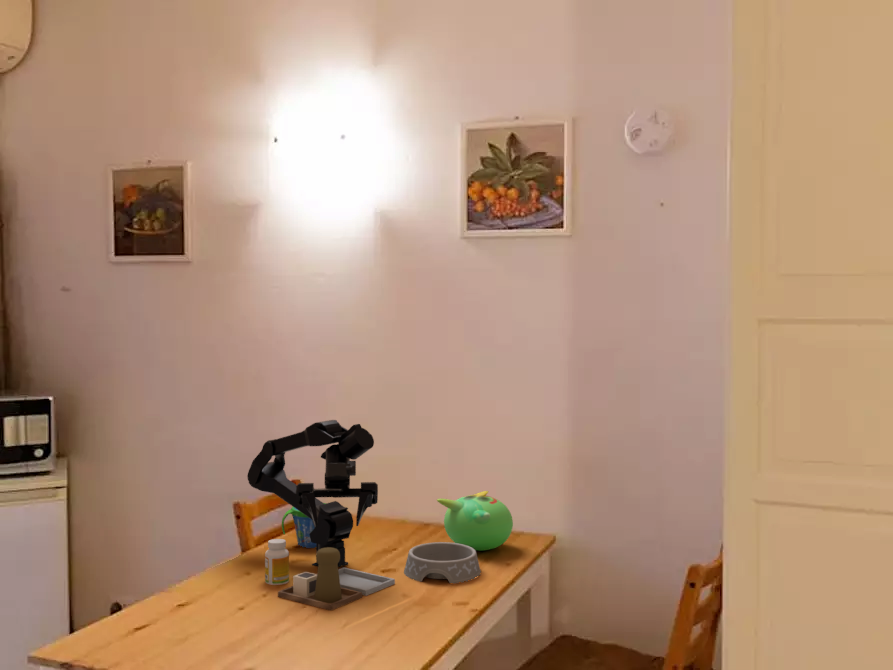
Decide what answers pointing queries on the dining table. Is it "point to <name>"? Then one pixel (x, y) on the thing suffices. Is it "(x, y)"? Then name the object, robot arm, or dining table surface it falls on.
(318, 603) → the walnut tray
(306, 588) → the beige and grey cube
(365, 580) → the grey tray
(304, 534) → the snack cup
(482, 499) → the green creature toy
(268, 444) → the robot arm
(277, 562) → the supplement bottle
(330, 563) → the brown rounded upright piece
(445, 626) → the dining table surface
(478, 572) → the dog bowl
